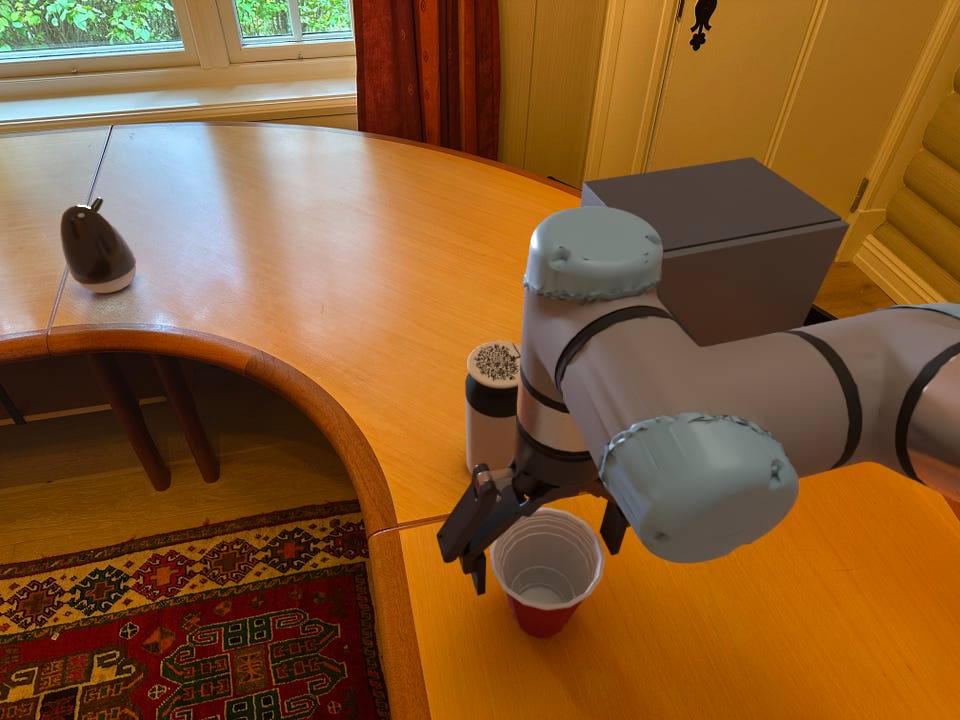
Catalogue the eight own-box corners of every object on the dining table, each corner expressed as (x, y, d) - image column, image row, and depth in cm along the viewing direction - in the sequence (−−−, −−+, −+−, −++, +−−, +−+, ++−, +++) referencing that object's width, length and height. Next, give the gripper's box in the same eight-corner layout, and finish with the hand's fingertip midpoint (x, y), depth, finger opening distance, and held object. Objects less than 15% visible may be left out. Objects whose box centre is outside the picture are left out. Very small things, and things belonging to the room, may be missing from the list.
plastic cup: (539, 545, 70) (547, 484, 62) (610, 616, 64) (629, 558, 56) (467, 604, 65) (465, 545, 57) (537, 686, 59) (546, 634, 51)
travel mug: (472, 492, 76) (472, 392, 64) (461, 443, 82) (459, 343, 69) (534, 482, 77) (545, 382, 65) (519, 435, 83) (526, 334, 70)
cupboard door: (804, 406, 87) (888, 250, 69) (639, 449, 81) (684, 290, 63) (772, 373, 92) (843, 219, 74) (614, 411, 86) (650, 254, 68)
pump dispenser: (156, 272, 111) (123, 196, 101) (117, 305, 103) (77, 227, 93) (110, 263, 113) (73, 188, 103) (68, 295, 106) (23, 217, 95)
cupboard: (771, 372, 92) (842, 217, 74) (613, 410, 86) (649, 252, 68) (705, 303, 104) (752, 156, 87) (563, 332, 99) (583, 181, 81)
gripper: (691, 348, 49) (641, 497, 64) (387, 415, 44) (409, 562, 58) (747, 414, 44) (679, 560, 58) (410, 501, 38) (427, 638, 53)
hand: (544, 561), depth 58 cm, fingers open, 13 cm apart
